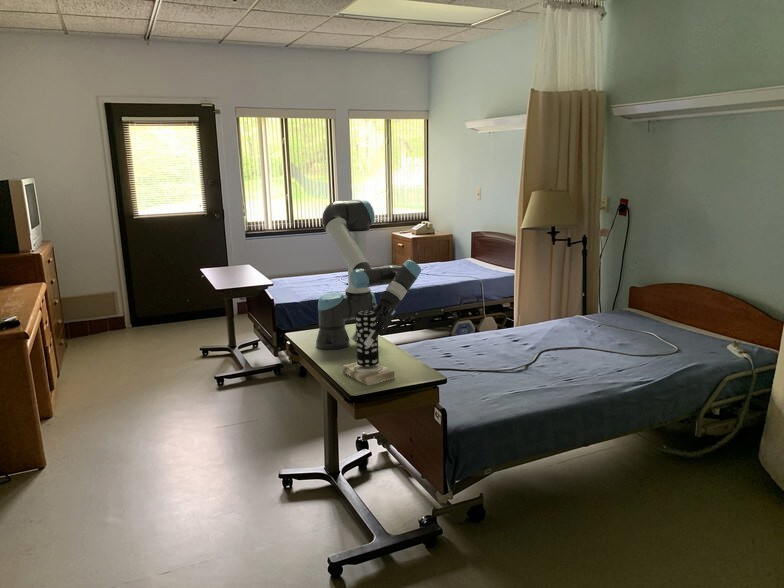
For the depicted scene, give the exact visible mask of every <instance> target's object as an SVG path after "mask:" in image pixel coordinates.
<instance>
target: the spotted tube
mask: <svg viewBox="0 0 784 588" xmlns="http://www.w3.org/2000/svg"><path fill="white" fill-rule="evenodd" d="M354 320H355V332H356V342H355V344H356V362H357V364H358V365H360V366H374V365H377V364H378V363H379V362H380V361H379V358H380V357H379V356H380V355H379V353H380V352H379V336H378V337H377V338H376V339H375V340H374V342H373V343H372V344H371V346H370V347H369V348H368V347H367V346H366V345H365V344H364V342H365V341H366V339H367V338H368V336H369V335H370V334H371V332H372V331H373V330H375V329H374V328H376V326H377V323H378V317H377V311H374V310H361V311H357V312H356V313H355V319H354ZM375 331H376V330H375ZM379 364H380V363H379Z"/></svg>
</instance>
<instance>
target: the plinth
mask: <svg viewBox="0 0 784 588" xmlns="http://www.w3.org/2000/svg"><path fill="white" fill-rule="evenodd" d="M342 373H343V374H345V375H346V374H347V375H346V376H348V375H349V377H350V376H351V378H352V379H354V380H356V381H358V382H360V383H362V384H364V385H366V386H373V385H376V384H379V382H380V383H384V382H386V380H387V381H390V379H391V380H395V370H393V369H391V368H389V367H387V366H385V365H382V364H381V363H378V364H377V365H374V366H360V365H358V364H357V361H356V362H352V363H347V364H343V365H342ZM383 381H384V382H383Z"/></svg>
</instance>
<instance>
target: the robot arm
mask: <svg viewBox="0 0 784 588" xmlns="http://www.w3.org/2000/svg"><path fill="white" fill-rule="evenodd" d="M321 219H322V220H321V221H322V226H323V229H324V231H325V232H326V235H329V236H330V237H331V238H332V239H333V241H334V244H335V245H336V246H337V248H338V250H339V252H340V254H341V255H342V258H343V259H344V261H345V262H346V264H347V276H348V277H347V279H348V280H347V282H348V286H347V288H345V293H342V292H336V291H335V292H329V293H327V294H323V295H321V296H320V297H319V299H318V302H317V311H318V312H317V313H318V328H319V329H318V334H317V337H316V340H315V341H316V342H315V344H316V347H317V348H318V349H320V350H327V351H328V350H329V351H330V350H332V351H333V350H339V349H340V350H341V349H344V348H347V347H349V346H350V345H351V343H350V339H351V340H352V341H353V342H355V343H356V331H355V332H354V333H353V335H352V336H351V338H349V334H348V331H347V330H346V321H351V320H355V313H356V312H357V311H361V310H374V311H377V318H378V319H377V326H376V328H374V329H375V330H376V331H375V330H373V331H372V332H371V334H370V335H369V336H368V338H367V339H366V341H365V342H364V344H365V345H366V346H367V347H368V348H369V347H370V346H371V344H372V343H373V342H374V340H375V339H376V338H377V337H378V338H379V335H380V334H385V333H386V332H387V329H388V328H389V326H390V325H391V323H392V320H393V318H394V317H395V316H396V315H397V311H396V310H395V309H397V307H398V306H399V305H400V303H401V301H402V300H403V298H404V297H405V295H406V294H407V293H408V291H409V290H410V289H411V287H412V286H413V284H414V283H415V282H416V281H417V280H418V278H419V276H420V274H421V272H422V268H421V266H420V265H419V264H418V263H417V262H415V261H413V260H412V259H411V260H410V259H407V260H405V261H404V262H403V263H402V265H397V264H392V263H391V264H384V265H383V266H376V267H372V266H371V265H370V264H369V263H370V262H368V258H367V257H368V256H367V255H368V254H367V252H368V251H367V234H368V232H370V226H372V225H374V222H375V211H374V207H373V206H372V205H371V203H370V202H369V201H368V200H365V199H352V200H351V199H350V200H349V199H348V200H335V201H332V202H331V203H329V204H328V205H327V206H326V207H325V208H324V211H323V213H322V217H321ZM385 285H388V286H387V287H386V288H385V290H384V291H383V293H381V295H380V301H379V302H378V303H377V299H376V295H375V293H374V292H373V291H371V288H372V287H377V286H385Z"/></svg>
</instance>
